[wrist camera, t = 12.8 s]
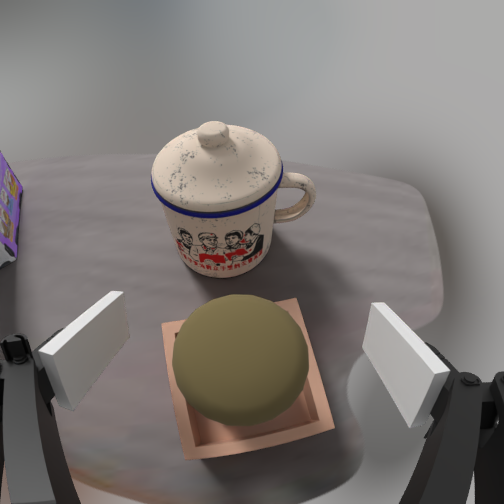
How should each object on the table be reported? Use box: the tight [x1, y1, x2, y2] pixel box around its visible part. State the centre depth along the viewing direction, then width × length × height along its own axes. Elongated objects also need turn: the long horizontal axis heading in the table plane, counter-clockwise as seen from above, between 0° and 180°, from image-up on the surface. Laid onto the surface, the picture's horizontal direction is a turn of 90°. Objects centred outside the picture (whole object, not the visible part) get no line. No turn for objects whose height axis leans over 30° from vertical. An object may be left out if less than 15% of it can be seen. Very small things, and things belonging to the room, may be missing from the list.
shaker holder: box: [162, 298, 335, 460], centre depth 18 cm, size 9×9×4 cm
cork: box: [172, 294, 309, 426], centre depth 13 cm, size 6×6×11 cm
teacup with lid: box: [151, 121, 316, 278], centre depth 21 cm, size 12×9×12 cm
